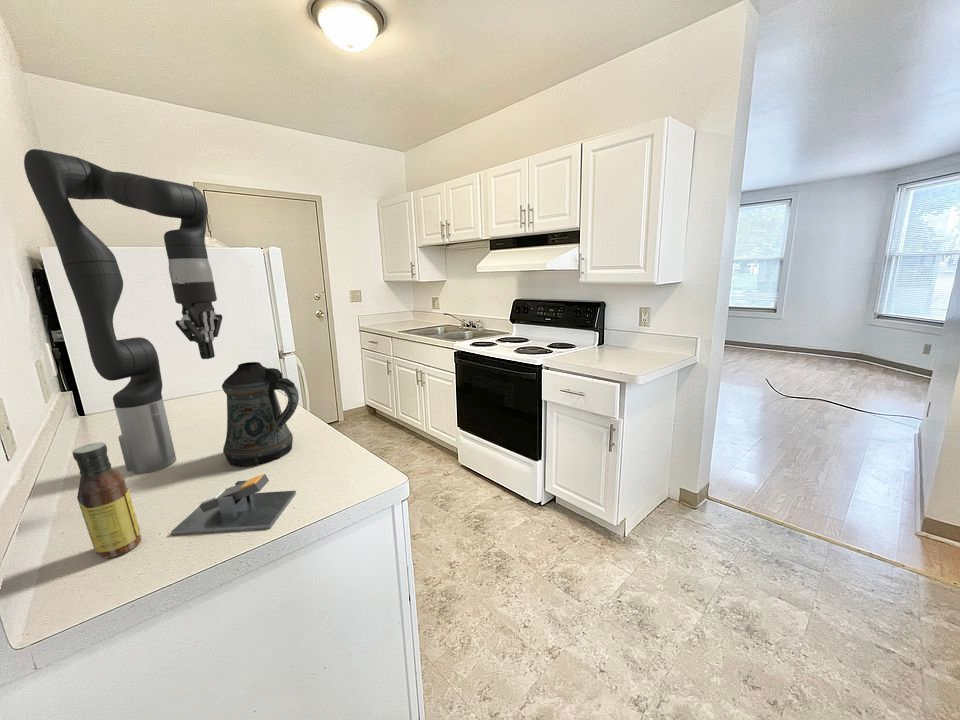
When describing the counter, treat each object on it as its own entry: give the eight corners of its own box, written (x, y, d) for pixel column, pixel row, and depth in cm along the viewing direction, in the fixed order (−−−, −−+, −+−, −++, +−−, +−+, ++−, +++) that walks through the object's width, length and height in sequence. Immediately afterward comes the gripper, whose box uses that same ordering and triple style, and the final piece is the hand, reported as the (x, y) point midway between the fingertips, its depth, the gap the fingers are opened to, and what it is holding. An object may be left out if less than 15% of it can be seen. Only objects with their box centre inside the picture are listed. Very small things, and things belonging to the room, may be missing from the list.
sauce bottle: (116, 538, 73) (88, 439, 69) (151, 535, 74) (126, 436, 69) (84, 563, 67) (52, 455, 63) (123, 560, 67) (94, 452, 63)
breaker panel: (172, 535, 73) (166, 510, 72) (211, 499, 85) (207, 477, 84) (270, 528, 74) (265, 503, 73) (296, 493, 86) (292, 472, 85)
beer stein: (228, 449, 111) (211, 362, 105) (303, 434, 119) (291, 353, 114) (222, 474, 96) (202, 375, 91) (307, 455, 105) (294, 363, 99)
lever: (203, 512, 77) (198, 504, 77) (215, 500, 81) (211, 493, 81) (259, 491, 77) (254, 483, 76) (269, 480, 81) (264, 472, 80)
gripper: (195, 281, 92) (209, 353, 96) (151, 282, 79) (170, 365, 83) (227, 279, 92) (240, 351, 96) (190, 280, 79) (206, 364, 83)
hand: (208, 358), depth 90 cm, fingers closed
